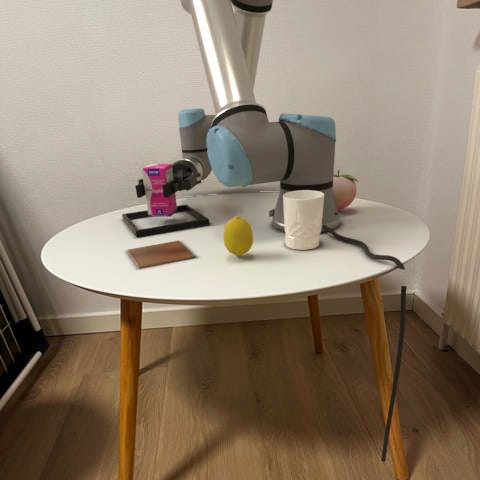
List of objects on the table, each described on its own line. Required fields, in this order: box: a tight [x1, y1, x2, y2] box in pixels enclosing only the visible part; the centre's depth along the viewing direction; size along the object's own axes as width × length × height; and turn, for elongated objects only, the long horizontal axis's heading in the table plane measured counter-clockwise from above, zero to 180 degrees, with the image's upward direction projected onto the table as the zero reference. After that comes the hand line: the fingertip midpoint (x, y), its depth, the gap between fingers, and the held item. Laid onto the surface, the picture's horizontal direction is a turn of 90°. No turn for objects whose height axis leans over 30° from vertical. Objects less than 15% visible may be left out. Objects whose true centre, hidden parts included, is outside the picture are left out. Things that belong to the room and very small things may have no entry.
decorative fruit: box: [333, 169, 359, 212], centre depth 105 cm, size 9×8×10 cm
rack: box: [121, 204, 210, 238], centre depth 107 cm, size 18×18×2 cm
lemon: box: [223, 215, 254, 259], centre depth 81 cm, size 6×6×8 cm
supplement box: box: [141, 163, 178, 218], centre depth 104 cm, size 6×6×12 cm
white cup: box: [283, 190, 324, 251], centre depth 85 cm, size 8×8×10 cm
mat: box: [127, 240, 196, 269], centre depth 86 cm, size 11×11×1 cm
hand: (151, 191), depth 99 cm, fingers closed on supplement box, 6 cm apart
